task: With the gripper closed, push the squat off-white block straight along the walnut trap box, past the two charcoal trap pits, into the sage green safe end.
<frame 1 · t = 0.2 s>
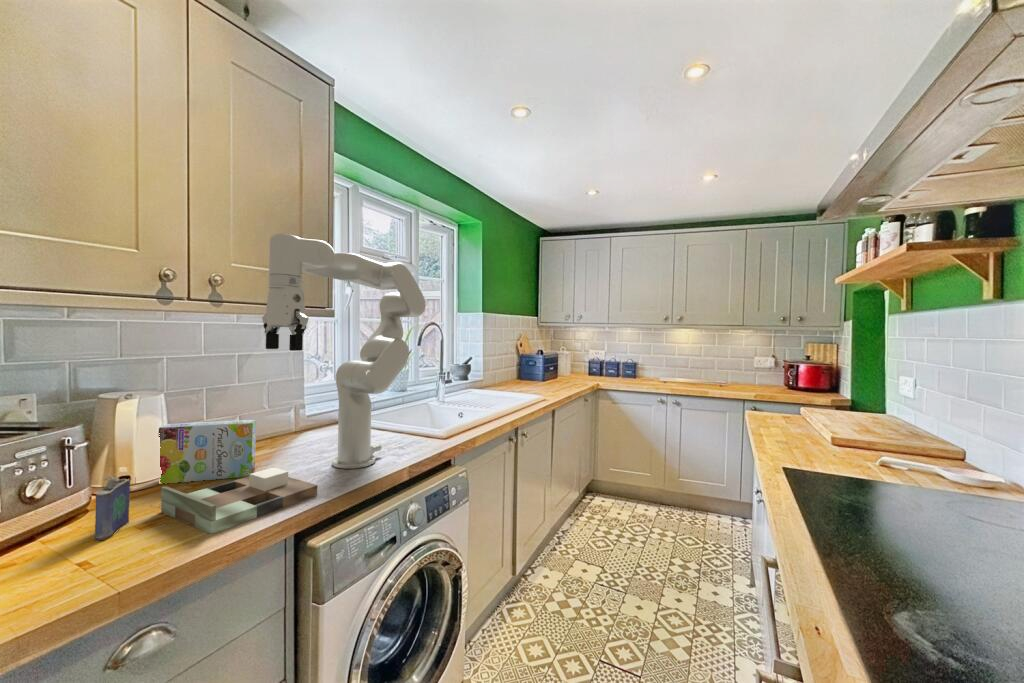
hand: (283, 349, 110), 36 cm above the worktop, tool pointing down, fingers open, 9 cm apart
snack box: (208, 478, 116), on the worktop
block: (269, 484, 105), point 2 cm above the worktop, touching trap box
trap box: (243, 503, 99), on the worktop
flask: (111, 531, 85), on the worktop
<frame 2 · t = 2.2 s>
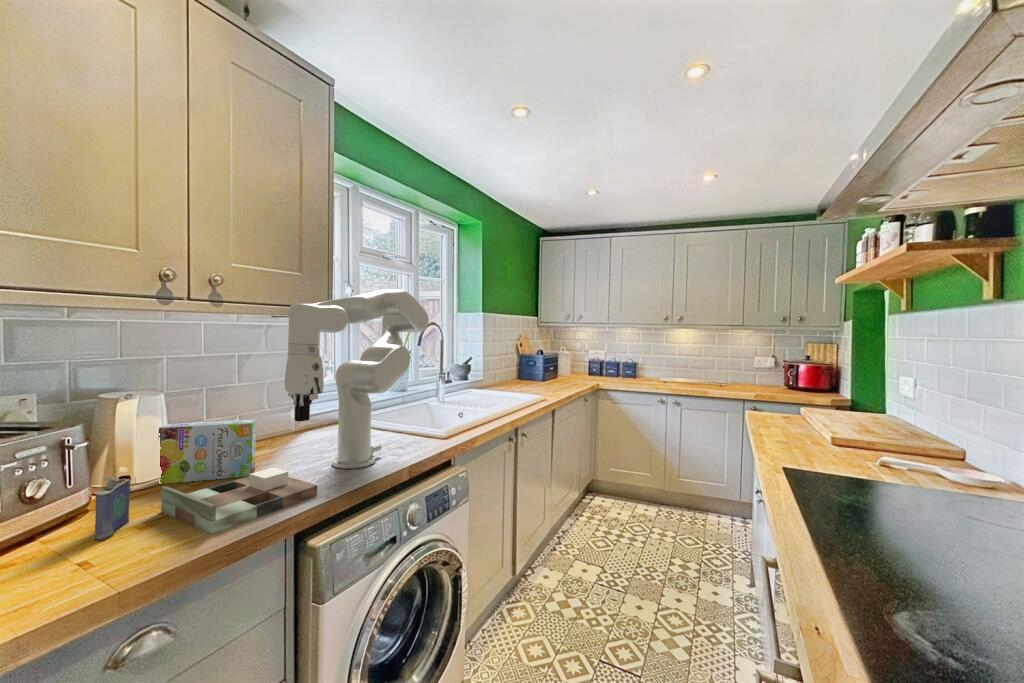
hand: (302, 420, 112), 17 cm above the worktop, tool pointing down, fingers closed
nothing on the worktop moved.
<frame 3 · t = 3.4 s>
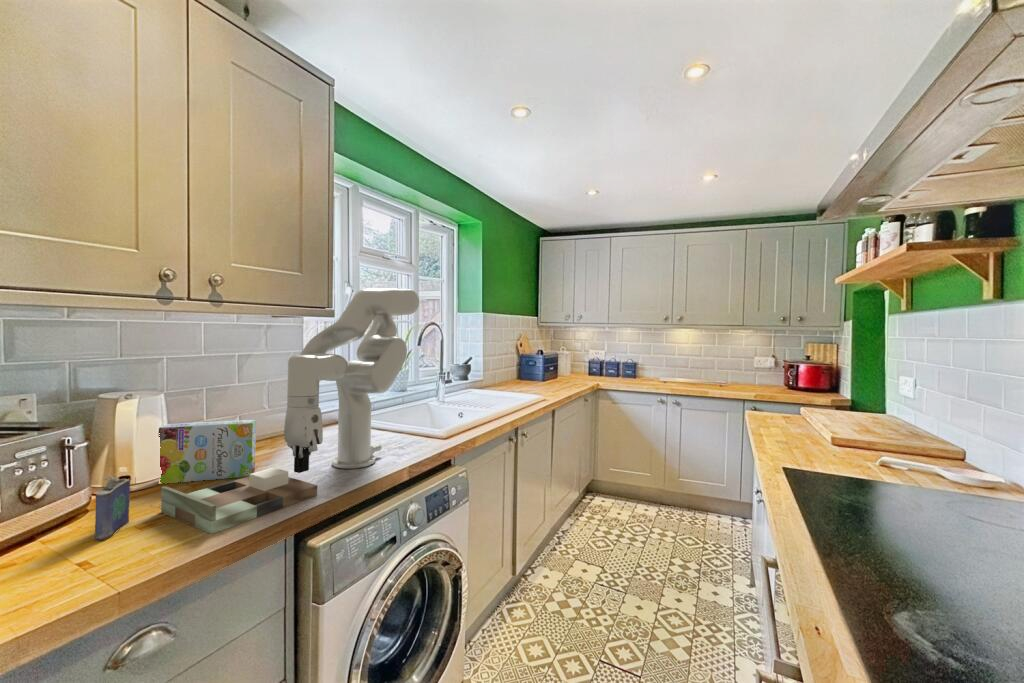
hand: (301, 471, 112), 4 cm above the worktop, tool pointing down, fingers closed
nothing on the worktop moved.
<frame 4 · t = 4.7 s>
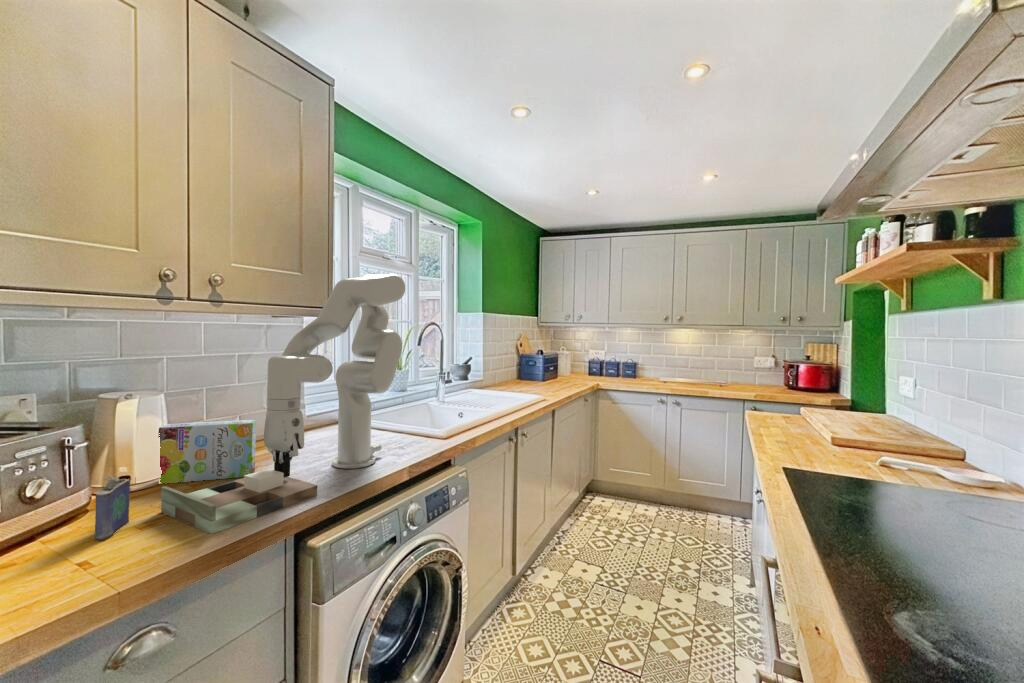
hand: (282, 476, 108), 4 cm above the worktop, tool pointing down, fingers closed
block: (263, 486, 104), point 3 cm above the worktop, touching trap box
everything else where it was.
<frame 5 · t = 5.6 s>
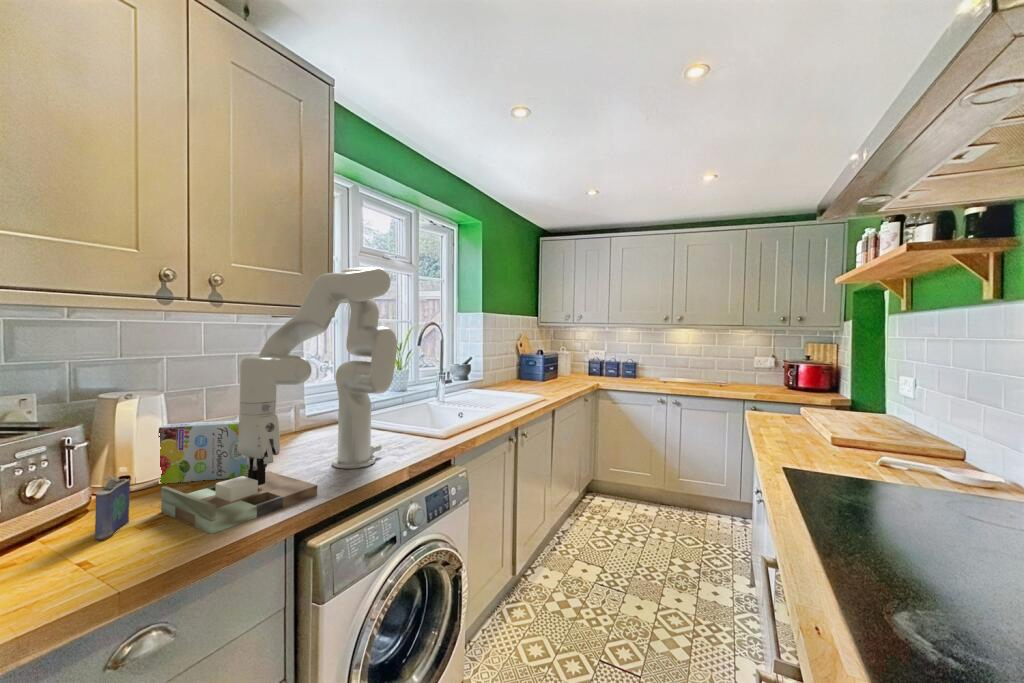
hand: (256, 484, 102), 3 cm above the worktop, tool pointing down, fingers closed
block: (236, 494, 98), point 2 cm above the worktop, touching gripper, trap box
everything else where it was.
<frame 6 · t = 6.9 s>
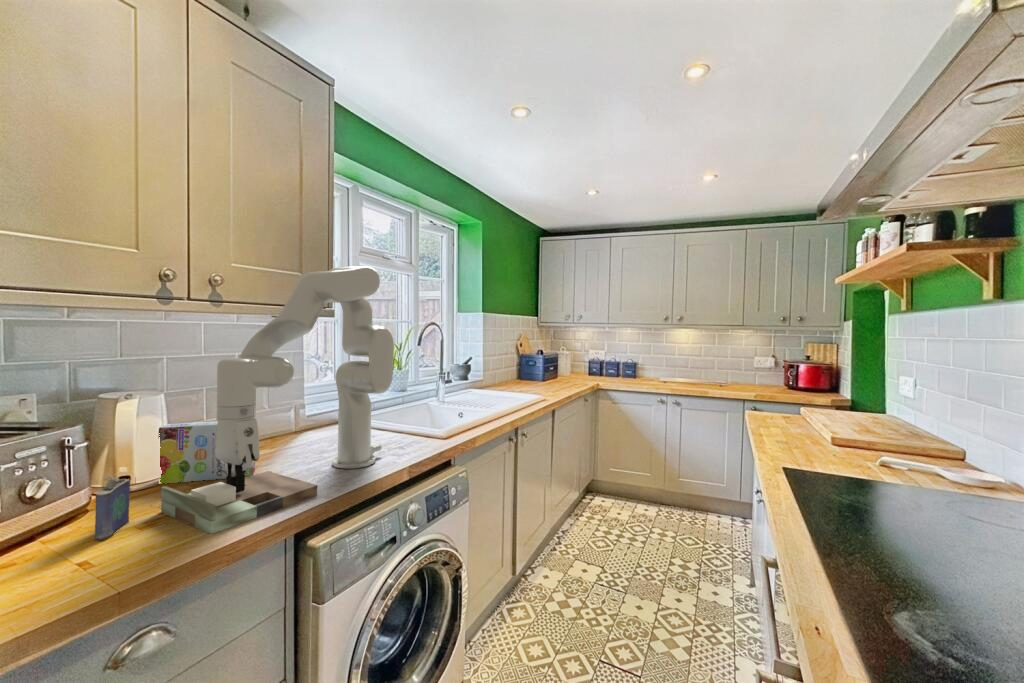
hand: (235, 491, 98), 3 cm above the worktop, tool pointing down, fingers closed
block: (213, 501, 94), point 2 cm above the worktop, touching gripper, trap box
everything else where it was.
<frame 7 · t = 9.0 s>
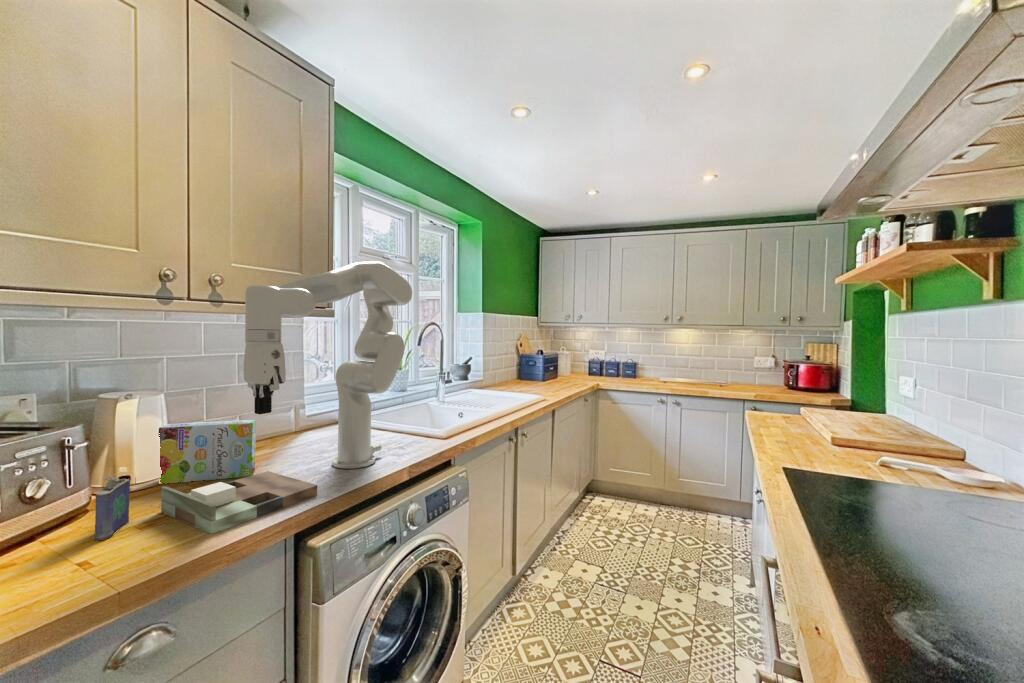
hand: (263, 413, 103), 21 cm above the worktop, tool pointing down, fingers closed
block: (213, 501, 94), point 2 cm above the worktop, touching trap box
everything else where it was.
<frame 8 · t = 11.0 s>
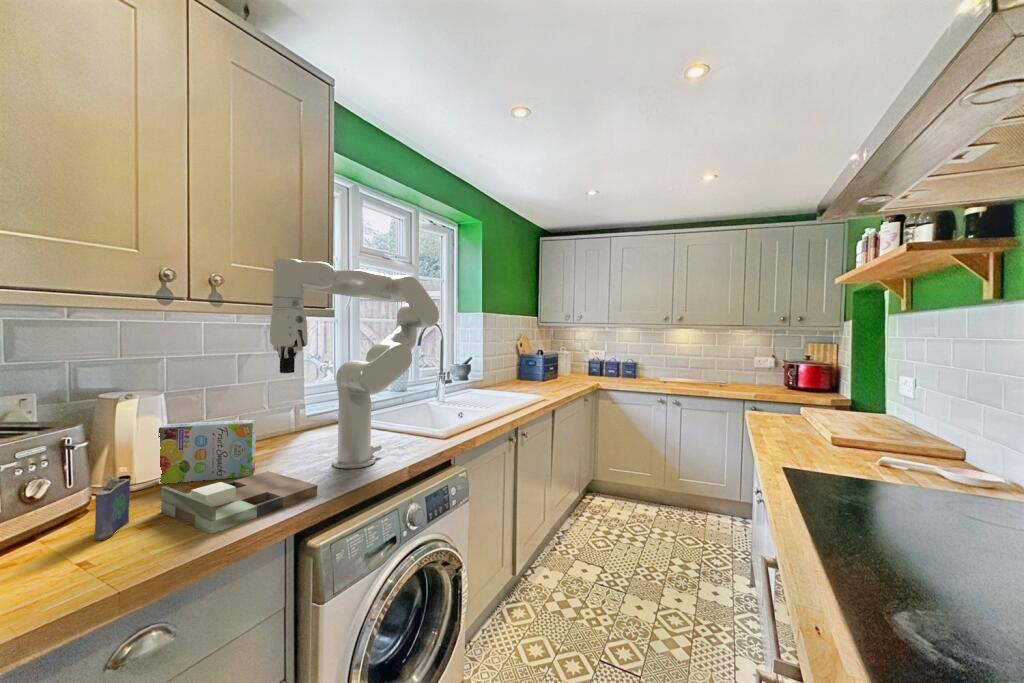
hand: (287, 372, 116), 29 cm above the worktop, tool pointing down, fingers closed
nothing on the worktop moved.
at the end: block 0.5 cm from the target spot on the trap box, point 2.5 cm above the trap box's base; block tilted 0° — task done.
